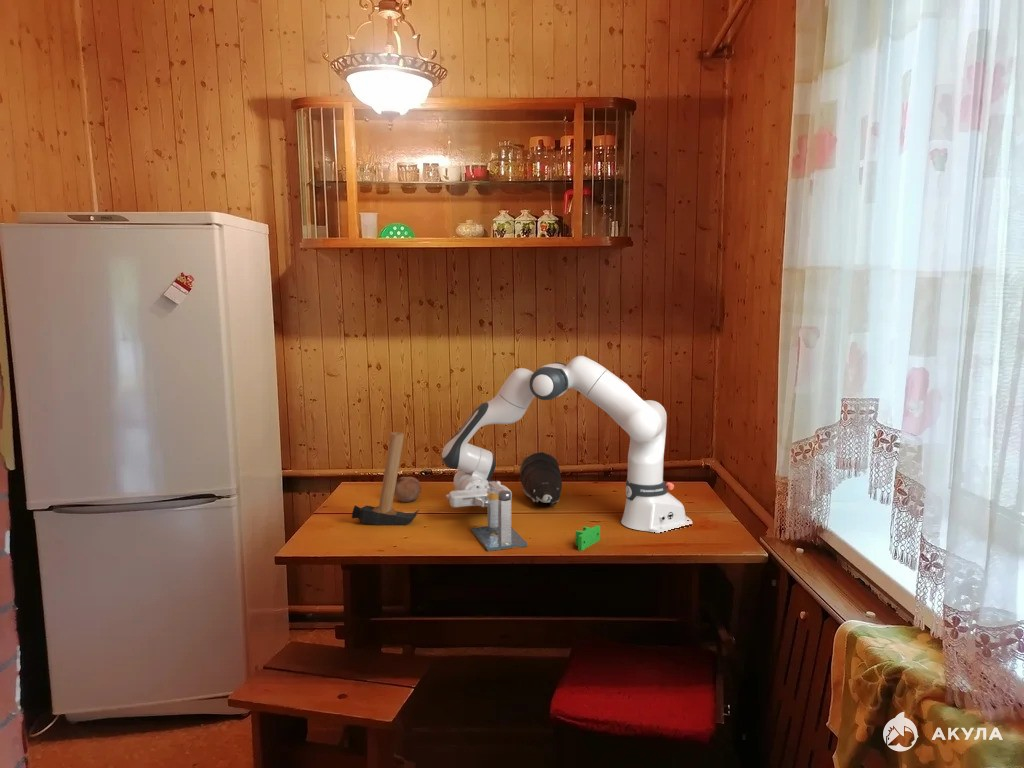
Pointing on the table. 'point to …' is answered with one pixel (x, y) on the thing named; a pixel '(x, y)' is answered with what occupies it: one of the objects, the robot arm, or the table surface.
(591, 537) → the pipe clamp
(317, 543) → the table surface
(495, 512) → the post
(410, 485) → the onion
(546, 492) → the dark brown oval body
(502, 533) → the grey metal upright piece
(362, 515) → the hammer
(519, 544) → the bolt hole plate
